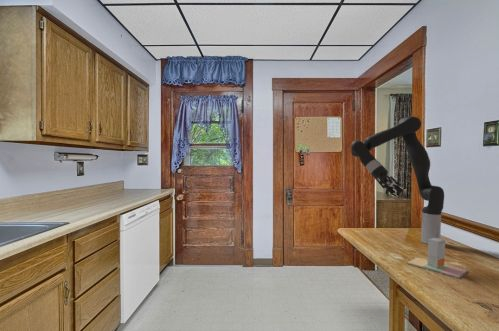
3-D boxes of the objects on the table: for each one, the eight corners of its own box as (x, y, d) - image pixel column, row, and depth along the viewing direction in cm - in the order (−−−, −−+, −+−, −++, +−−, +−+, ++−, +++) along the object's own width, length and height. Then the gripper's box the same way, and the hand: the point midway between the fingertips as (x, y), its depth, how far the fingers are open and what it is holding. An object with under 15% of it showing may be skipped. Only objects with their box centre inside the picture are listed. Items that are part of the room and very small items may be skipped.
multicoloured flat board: (417, 258, 137) (417, 256, 137) (467, 271, 122) (467, 270, 122) (406, 263, 130) (406, 262, 130) (459, 278, 114) (459, 277, 114)
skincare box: (437, 268, 123) (438, 241, 123) (426, 265, 127) (427, 238, 126) (444, 266, 126) (445, 239, 125) (434, 263, 130) (435, 237, 129)
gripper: (374, 165, 148) (396, 189, 139) (387, 165, 157) (409, 187, 148) (365, 174, 152) (385, 198, 143) (378, 174, 161) (398, 196, 152)
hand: (397, 192), depth 146 cm, fingers open, 8 cm apart
